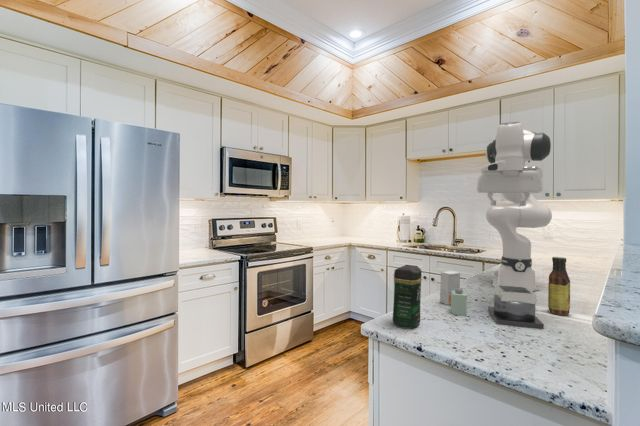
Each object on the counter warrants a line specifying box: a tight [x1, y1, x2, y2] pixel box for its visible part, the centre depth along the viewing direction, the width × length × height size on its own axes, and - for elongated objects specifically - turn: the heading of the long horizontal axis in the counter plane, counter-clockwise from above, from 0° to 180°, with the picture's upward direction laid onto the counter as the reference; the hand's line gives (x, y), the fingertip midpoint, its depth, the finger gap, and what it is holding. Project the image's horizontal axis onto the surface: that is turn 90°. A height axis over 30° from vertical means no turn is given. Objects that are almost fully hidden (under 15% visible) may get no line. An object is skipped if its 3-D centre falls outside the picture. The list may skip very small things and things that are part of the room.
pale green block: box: [450, 287, 468, 317], centre depth 115 cm, size 6×4×8 cm
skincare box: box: [439, 270, 461, 306], centre depth 126 cm, size 6×4×12 cm
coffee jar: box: [392, 264, 422, 329], centre depth 103 cm, size 10×8×19 cm
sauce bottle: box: [547, 256, 571, 316], centre depth 115 cm, size 6×6×20 cm
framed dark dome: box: [487, 285, 545, 330], centre depth 109 cm, size 14×13×10 cm
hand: (507, 205), depth 116 cm, fingers open, 8 cm apart
